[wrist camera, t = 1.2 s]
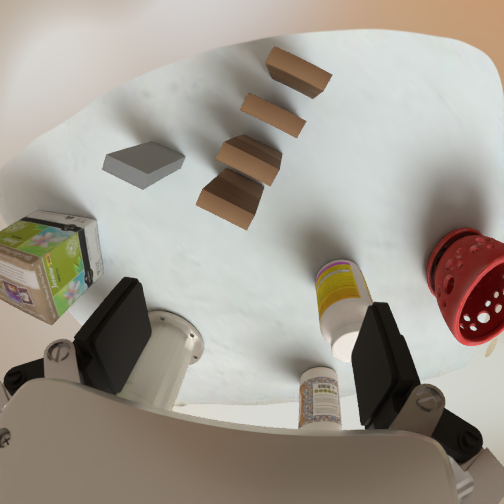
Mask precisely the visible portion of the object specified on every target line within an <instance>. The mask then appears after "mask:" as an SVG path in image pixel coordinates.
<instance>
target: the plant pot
mask: <svg viewBox="0 0 504 504" xmlns="http://www.w3.org/2000/svg"><path fill="white" fill-rule="evenodd" d="M427 283H428V287H429V289H430V291H431V293H432V294H433V295H434V296H435V297H436V298H437V302H438V305H439V308H440V311H441V313H442V316H443V318H444V320H445V322H446V324H447V326H448V327H449V329H450V331H451V332H452V334H453V335H454V337H455V338H456V339H457V340H458V341H459V342H460V343H462V344H463V345H467V346H476V345H480V344H483V343H485V342H488V341H490V340H491V339H493V338H494V337H496V336H497V335H499V334H500V333H501V332H502V331H503V330H504V295H503V291H504V243H502V242H499V241H497V240H495V239H493V238H490V237H487V236H483V235H482V234H481V233H480V232H479V231H477V230H475V229H472V228H460V229H457V230H454V231H452V232H450V233H449V234H448V235H446V236H445V237H444V238H443V239H442V240H441V241H440V242H439V243H438V244H437V246H436V247H435V249H434V250H433V252H432V254H431V257H430V259H429V262H428V266H427ZM495 292H499V296H498V297H497V298H495V297H494V294H495ZM487 301H491V304H490V305H489V306H488V307H487V306H486V305H485V304H486V302H487ZM498 305H502V309H501V311H500V312H499V313H496V312H495V308H496V307H497V306H498ZM481 313H488V314H489V316H490V320H489V321H488V322H487V323H481V322H479V321H478V319H477V317H478V315H479V314H481ZM464 316H468V317H469V318H470V321H466V320H465V319H464ZM460 326H462V327H463V328H461V327H460ZM470 326H474V327H476V328H477V330H476V331H473V330H471V329H470Z"/></svg>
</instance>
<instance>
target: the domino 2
mask: <svg viewBox="0 0 504 504" xmlns="http://www.w3.org/2000/svg"><path fill="white" fill-rule="evenodd" d="M240 110H241V111H243V112H245V113H247V114H249V115H251V116H254V117H256V118H258V119H260V120H262V121H264V122H266V123H268V124H270V125H272V126H274V127H276V128H278V129H280V130H282V131H284V132H286V133H288V134H290V135H292V136H293V137H295V138H297V137H298V135H299V134H300V132H301V130H302V128H303V127H304V125H305V123H306V121H305V120H303V119H301V118H300V117H298V116H296V115H294V114H292V113H290V112H288V111H286V110H284V109H282V108H280V107H278V106H276V105H274V104H272V103H270V102H268V101H266V100H264V99H261V98H259V97H257V96H255V95H253V94H250V93H248V95H247V97H246V99H245V101H244V102H243V104H242V106H241V108H240Z"/></svg>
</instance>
